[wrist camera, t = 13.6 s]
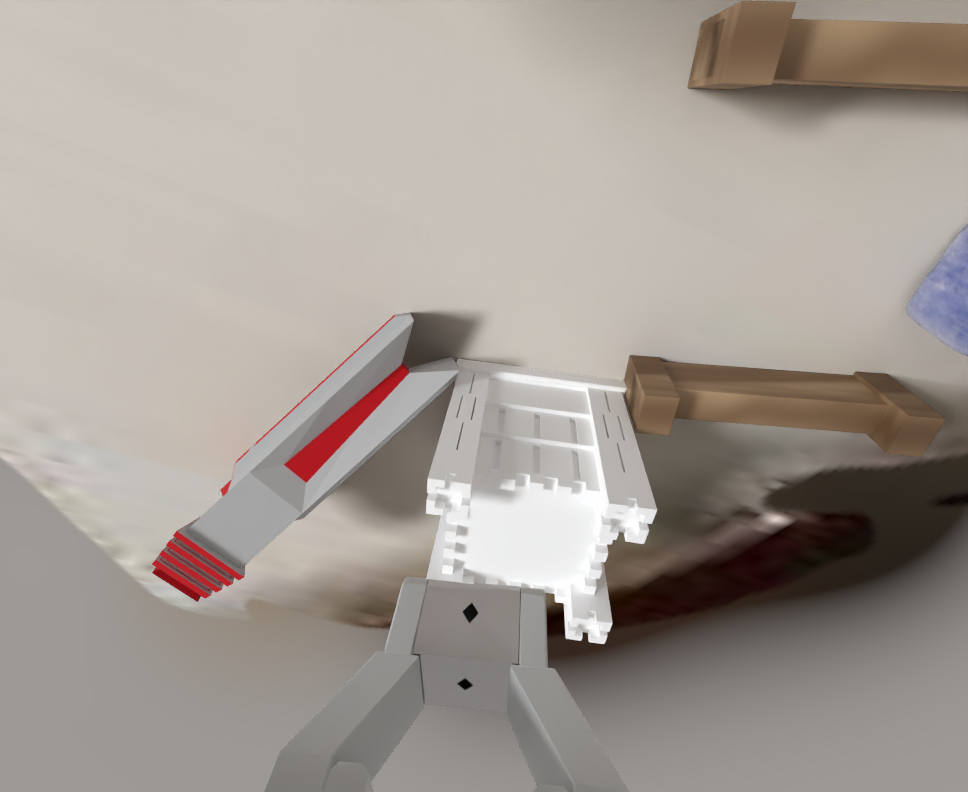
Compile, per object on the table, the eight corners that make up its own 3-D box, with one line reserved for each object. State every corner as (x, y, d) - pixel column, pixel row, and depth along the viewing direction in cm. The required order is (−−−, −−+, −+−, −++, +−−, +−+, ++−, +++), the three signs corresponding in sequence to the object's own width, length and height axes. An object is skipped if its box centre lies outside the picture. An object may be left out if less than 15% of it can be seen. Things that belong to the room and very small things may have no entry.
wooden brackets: (701, 22, 28) (742, 0, 22) (1070, 33, 26) (1210, 13, 21) (622, 389, 40) (635, 432, 35) (868, 408, 39) (922, 456, 34)
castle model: (588, 502, 47) (607, 647, 35) (448, 483, 48) (416, 619, 35) (623, 379, 40) (665, 506, 27) (457, 358, 40) (421, 472, 28)
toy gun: (445, 344, 50) (469, 380, 36) (253, 519, 51) (203, 621, 37) (399, 294, 47) (405, 311, 33) (199, 479, 49) (123, 571, 35)
